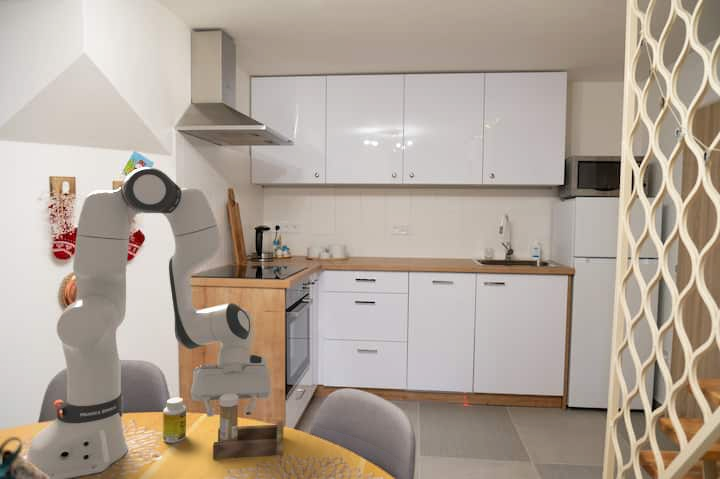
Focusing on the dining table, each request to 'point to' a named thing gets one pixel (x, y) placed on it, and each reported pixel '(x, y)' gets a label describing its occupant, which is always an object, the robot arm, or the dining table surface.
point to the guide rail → (252, 442)
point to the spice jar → (228, 417)
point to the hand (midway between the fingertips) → (229, 414)
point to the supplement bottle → (174, 421)
